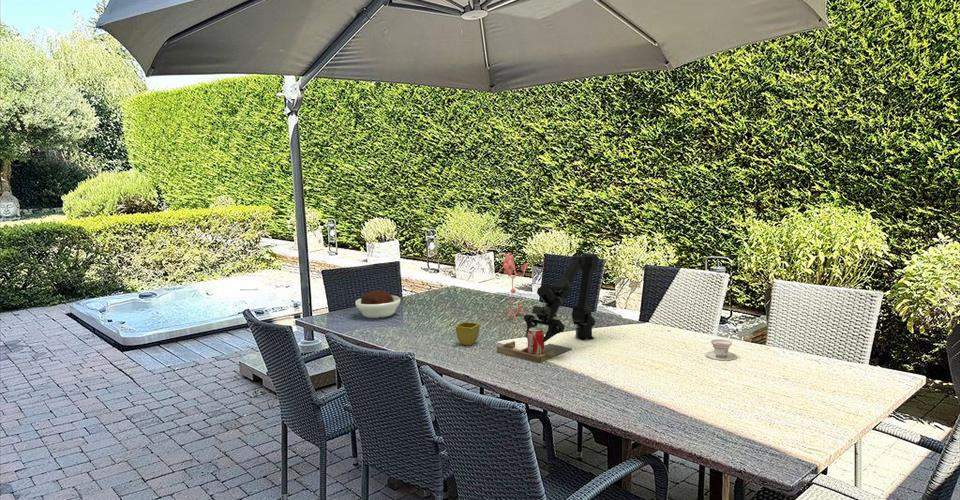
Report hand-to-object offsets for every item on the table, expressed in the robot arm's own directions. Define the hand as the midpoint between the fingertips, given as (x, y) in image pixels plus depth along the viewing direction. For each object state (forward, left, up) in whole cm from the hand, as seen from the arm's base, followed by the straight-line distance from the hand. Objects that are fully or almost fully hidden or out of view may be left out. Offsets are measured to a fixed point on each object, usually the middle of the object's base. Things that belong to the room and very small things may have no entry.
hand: (535, 339), depth 248 cm
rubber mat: (-10, -6, -7) cm, 14 cm away
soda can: (0, 0, -8) cm, 8 cm away
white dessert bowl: (+59, -100, -8) cm, 116 cm away
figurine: (-9, -70, -8) cm, 71 cm away
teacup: (-71, +25, -8) cm, 76 cm away
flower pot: (+23, -29, -8) cm, 38 cm away
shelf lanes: (+3, -5, -7) cm, 9 cm away
